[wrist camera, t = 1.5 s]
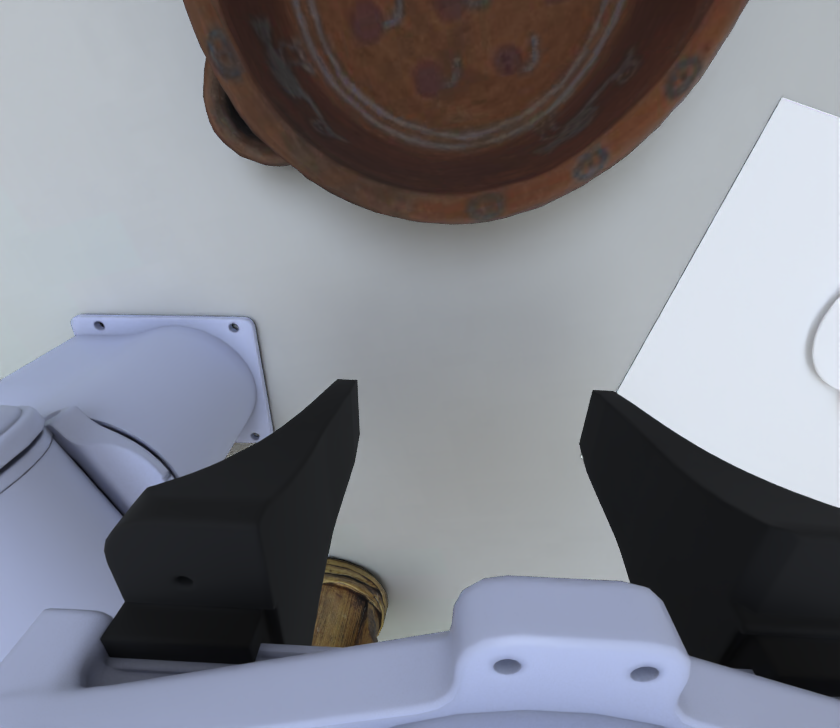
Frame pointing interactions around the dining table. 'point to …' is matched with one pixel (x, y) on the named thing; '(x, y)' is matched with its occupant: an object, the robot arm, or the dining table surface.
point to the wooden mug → (349, 606)
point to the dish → (450, 92)
